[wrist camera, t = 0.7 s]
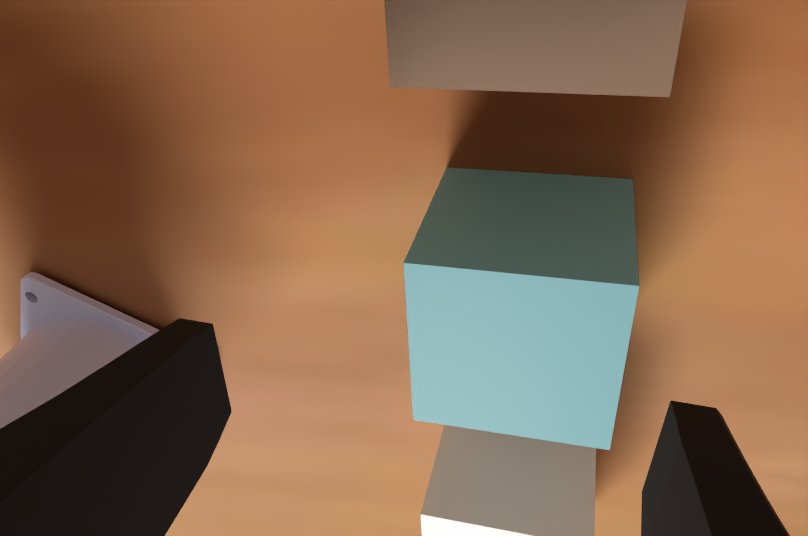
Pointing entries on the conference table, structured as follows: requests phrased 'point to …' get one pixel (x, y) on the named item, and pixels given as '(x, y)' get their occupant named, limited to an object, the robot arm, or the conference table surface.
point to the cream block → (509, 486)
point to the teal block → (523, 304)
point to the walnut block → (535, 45)
